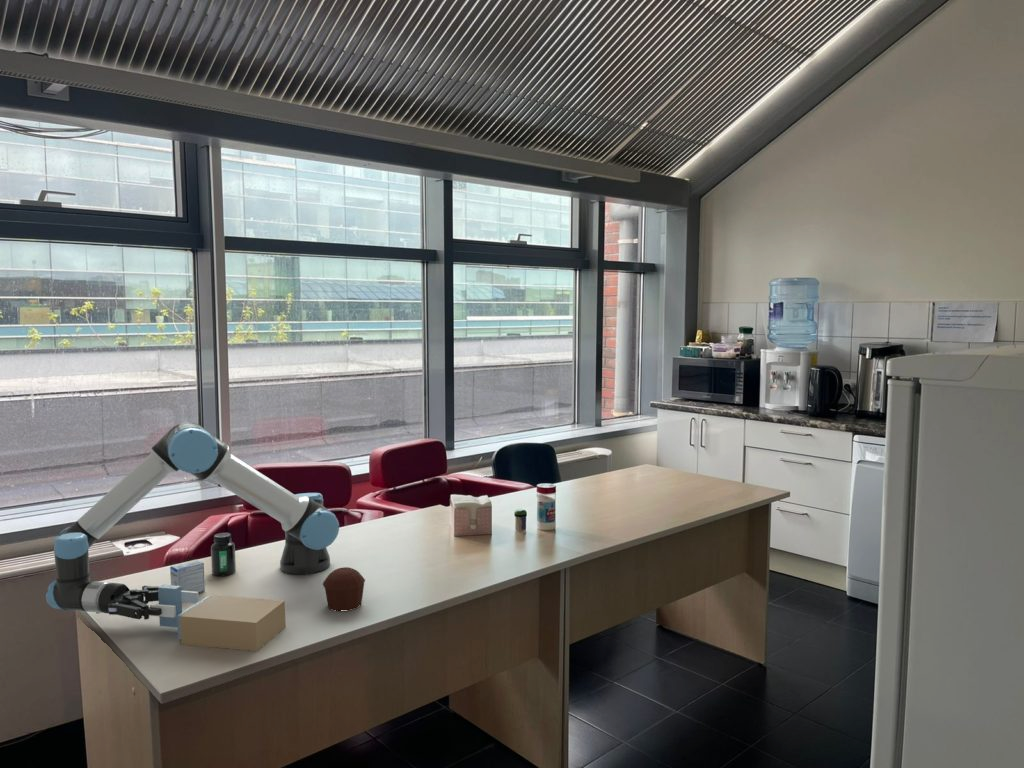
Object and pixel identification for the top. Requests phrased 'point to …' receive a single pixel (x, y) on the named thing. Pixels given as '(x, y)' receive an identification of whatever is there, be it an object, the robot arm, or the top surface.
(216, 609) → the drawer cabinet
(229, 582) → the top surface
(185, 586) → the medicine box
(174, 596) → the blue-handled drawer
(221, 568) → the supplement bottle
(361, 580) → the muffin
